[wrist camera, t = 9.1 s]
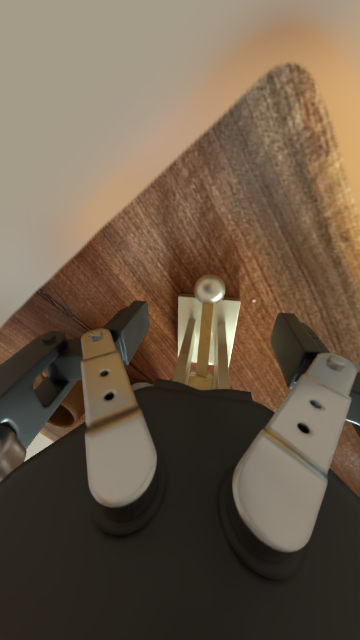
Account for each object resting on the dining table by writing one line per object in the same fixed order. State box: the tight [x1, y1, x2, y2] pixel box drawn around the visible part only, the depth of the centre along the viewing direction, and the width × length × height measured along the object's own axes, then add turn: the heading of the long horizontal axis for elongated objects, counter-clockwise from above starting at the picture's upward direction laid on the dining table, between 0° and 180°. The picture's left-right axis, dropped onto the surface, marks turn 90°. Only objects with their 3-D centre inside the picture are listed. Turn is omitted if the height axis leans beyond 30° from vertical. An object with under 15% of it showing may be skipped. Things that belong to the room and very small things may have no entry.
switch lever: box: [188, 274, 225, 390], centre depth 19 cm, size 13×3×3 cm
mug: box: [33, 373, 85, 427], centre depth 32 cm, size 12×8×9 cm, turn 12°
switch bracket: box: [170, 293, 241, 389], centre depth 22 cm, size 11×8×13 cm
